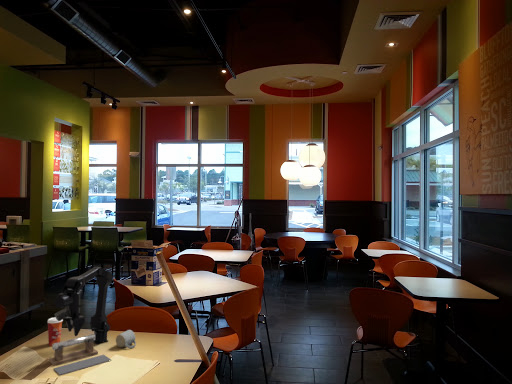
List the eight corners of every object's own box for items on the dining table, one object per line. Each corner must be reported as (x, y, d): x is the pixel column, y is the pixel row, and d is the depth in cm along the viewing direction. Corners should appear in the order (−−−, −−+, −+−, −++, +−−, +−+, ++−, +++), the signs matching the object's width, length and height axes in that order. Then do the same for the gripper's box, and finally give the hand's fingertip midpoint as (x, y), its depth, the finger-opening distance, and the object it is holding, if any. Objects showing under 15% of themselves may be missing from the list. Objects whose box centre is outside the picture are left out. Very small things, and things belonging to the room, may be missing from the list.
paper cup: (55, 347, 205) (56, 321, 205) (43, 345, 206) (44, 320, 207) (65, 342, 213) (66, 317, 213) (53, 340, 214) (54, 316, 215)
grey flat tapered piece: (103, 355, 195) (103, 354, 195) (111, 360, 188) (111, 359, 188) (53, 369, 177) (53, 368, 177) (60, 375, 171) (60, 374, 171)
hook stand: (91, 350, 202) (92, 334, 202) (97, 354, 196) (98, 337, 196) (49, 361, 187) (49, 343, 187) (54, 366, 181) (55, 348, 181)
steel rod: (93, 339, 200) (93, 333, 200) (95, 340, 198) (95, 334, 198) (52, 349, 185) (52, 342, 186) (54, 350, 183) (54, 344, 183)
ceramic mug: (114, 346, 207) (114, 332, 207) (125, 342, 214) (126, 328, 214) (128, 350, 202) (129, 336, 202) (139, 345, 209) (140, 331, 209)
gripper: (51, 302, 194) (50, 332, 193) (62, 309, 180) (61, 342, 180) (73, 298, 201) (73, 327, 201) (86, 305, 188) (85, 337, 187)
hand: (72, 333), depth 192 cm, fingers open, 9 cm apart
